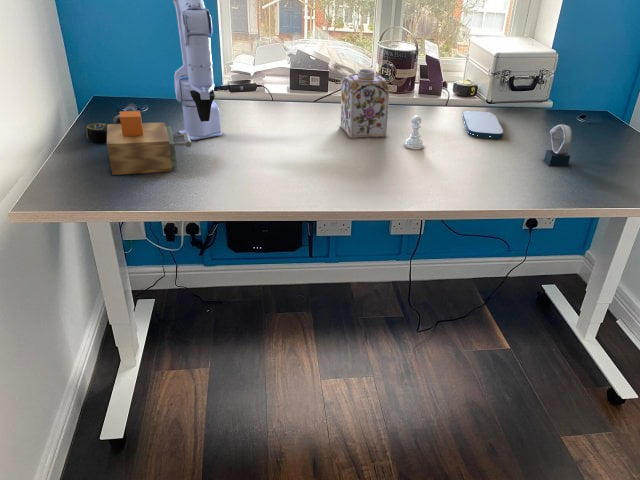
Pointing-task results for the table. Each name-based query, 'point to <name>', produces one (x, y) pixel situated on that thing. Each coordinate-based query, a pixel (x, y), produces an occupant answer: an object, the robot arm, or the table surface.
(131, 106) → the eagle figurine
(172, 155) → the drawer
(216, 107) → the robot arm
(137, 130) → the plain orange block
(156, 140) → the cabinet
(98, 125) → the tape measure
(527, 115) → the table surface
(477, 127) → the external hard drive
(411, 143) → the chess pawn
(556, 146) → the watch
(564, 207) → the table surface
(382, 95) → the decorative jar
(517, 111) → the table surface
